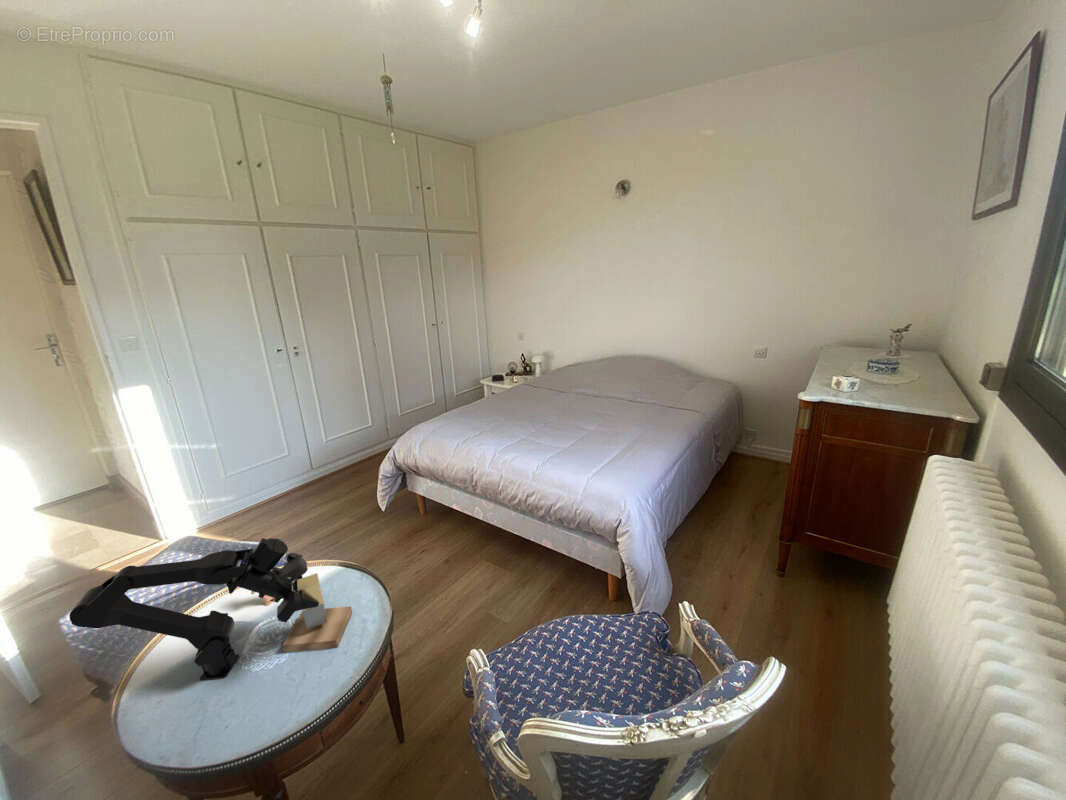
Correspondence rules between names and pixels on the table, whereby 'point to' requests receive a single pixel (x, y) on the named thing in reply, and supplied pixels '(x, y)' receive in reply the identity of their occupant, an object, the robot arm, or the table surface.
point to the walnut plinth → (319, 631)
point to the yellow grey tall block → (313, 591)
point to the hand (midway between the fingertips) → (317, 598)
